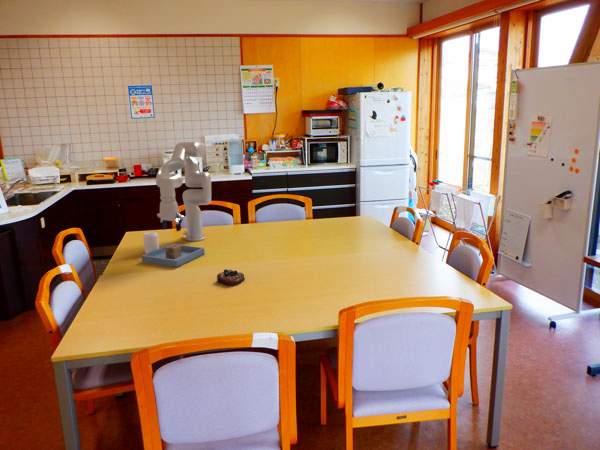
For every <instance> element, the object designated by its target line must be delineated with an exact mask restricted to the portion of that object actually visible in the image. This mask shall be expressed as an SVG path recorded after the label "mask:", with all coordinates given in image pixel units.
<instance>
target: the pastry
mask: <svg viewBox="0 0 600 450" xmlns="http://www.w3.org/2000/svg"><path fill="white" fill-rule="evenodd" d="M245 278H246V277H245V275H244V273H243V272H242V271H240V272H239V271H237V270H233V269H226V268H225V269H224V270H223V271H222V272H219V273H218V274H217V275H216V282H217V283H219V284H221V285H224V286H229V287H233V286H237V285H239V284H241V283H243V282H244V281H245V280H246V279H245Z"/></svg>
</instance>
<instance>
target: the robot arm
mask: <svg viewBox="0 0 600 450" xmlns="http://www.w3.org/2000/svg"><path fill="white" fill-rule="evenodd" d="M207 151H208V150H207V146H206V144H205V143H203V142H200V141H199V142H197V141H181V142H177V143H176V144H175V147H174V150H173V153H172V155H171V158H170V159H169V160H167V161H166V162H165V163H164V164H162V165H161V166H159V169H158V170H157V173H156V177H155V184H156V185H157V187H158V188H159V191H160V192H159V193H160V196H159V199H160V202H159V213H156V216H157V217H158V220H159V222H160V223H161V229H162V230H167V228H168V224H167V222H168V221H169V222H175V228H176V229H175V231H176V232H180V231H181V230H182V226H181V225H182V222H183V220H184V217H185V221H186V222H185V223H186V230H184V231H183V232H182V235H183V236H185V238H184V239H185V241H187V242H198V241H203V240H204V239H206V235H205V234H204V231H203V219H202V211H201V209H200V207H199V206H200V205H201V206H202V205H203V206H204V205H205V206H206V205H207V206H208V205H210V204H211V202H212V177H211V174H210V173H209V172H208V171H200V167H199V166H200V165H199V162H198V160H197V158H204V157H205V156H206V154H207ZM182 169H184V177H183V176H182V175H181V174H179V173H174V172H176V171H180V170H182ZM183 178H184V179H183ZM184 183H185V186H186V187H188V188H193V189H186V190H185V191H183V193H182V201H183V205H184V210H185V216H184V215H182V214H181V213H180V210H179V204H178V202H177V200H176V199H177V198H176V190H175V189H177V188H180V187H181V186H182V185H183V184H184ZM194 188H195V189H194ZM196 188H197V189H196ZM199 188H202V189H199Z"/></svg>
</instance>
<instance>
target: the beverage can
mask: <svg viewBox="0 0 600 450" xmlns="http://www.w3.org/2000/svg"><path fill="white" fill-rule="evenodd" d="M142 238H143V247H144V253H145V254H147V253H149V252H151V251H154V250H156V249H159V248H160V243H159V242H160V241H159V234H158V232H157V231H155V230H154V231H153V230H151V231H145V232H144V233H143V235H142Z"/></svg>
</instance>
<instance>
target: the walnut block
mask: <svg viewBox="0 0 600 450" xmlns="http://www.w3.org/2000/svg"><path fill="white" fill-rule="evenodd" d="M171 244H172V245H170V246H167V247H165V251H166V258H171V259H176V258H178V257H180V256H182V252H181V246H180V245H181V244H178V245H173V244H174V243H171Z"/></svg>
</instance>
